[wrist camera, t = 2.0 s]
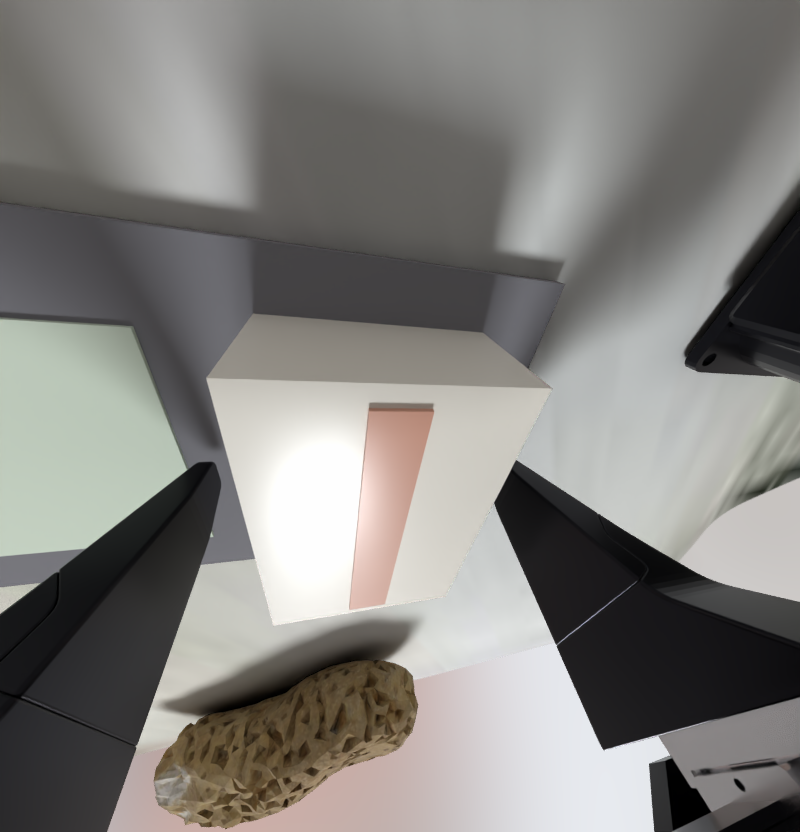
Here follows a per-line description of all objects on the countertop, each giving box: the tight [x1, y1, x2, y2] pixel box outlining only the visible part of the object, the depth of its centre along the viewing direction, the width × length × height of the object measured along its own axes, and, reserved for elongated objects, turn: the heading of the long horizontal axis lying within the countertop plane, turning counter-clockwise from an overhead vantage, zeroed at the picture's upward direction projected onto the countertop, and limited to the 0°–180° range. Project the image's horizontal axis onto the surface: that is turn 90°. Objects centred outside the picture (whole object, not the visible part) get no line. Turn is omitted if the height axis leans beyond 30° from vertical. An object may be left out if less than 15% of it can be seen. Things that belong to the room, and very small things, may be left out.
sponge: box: [154, 660, 418, 829], centre depth 23 cm, size 13×8×20 cm
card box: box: [206, 314, 553, 626], centre depth 9 cm, size 6×9×3 cm, turn 171°
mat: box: [0, 202, 565, 587], centre depth 9 cm, size 22×12×1 cm, turn 81°
